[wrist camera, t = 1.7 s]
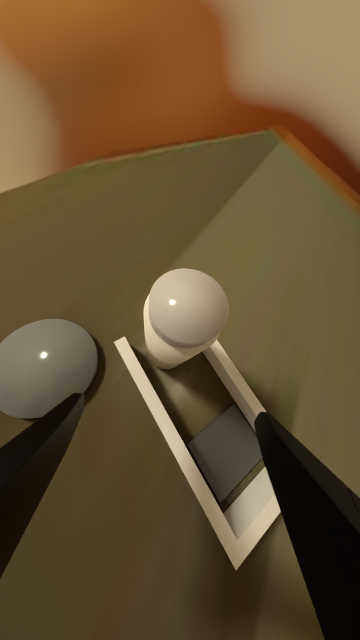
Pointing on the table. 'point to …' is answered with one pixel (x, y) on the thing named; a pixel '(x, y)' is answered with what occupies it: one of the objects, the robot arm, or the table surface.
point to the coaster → (45, 366)
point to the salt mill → (183, 316)
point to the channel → (220, 456)
